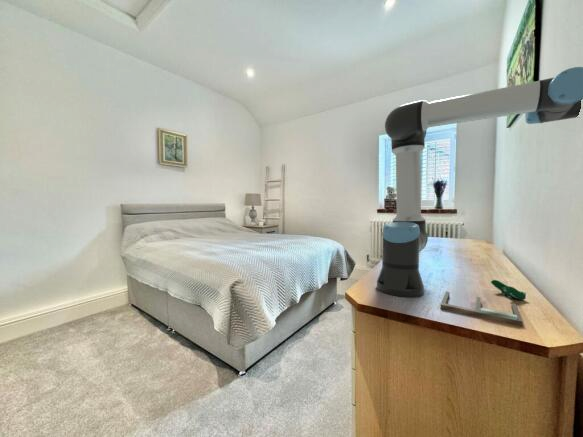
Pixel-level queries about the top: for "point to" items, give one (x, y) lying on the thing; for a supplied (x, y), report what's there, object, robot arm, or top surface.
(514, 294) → the gaming controller
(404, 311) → the top surface
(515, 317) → the letter e shape
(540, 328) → the top surface
